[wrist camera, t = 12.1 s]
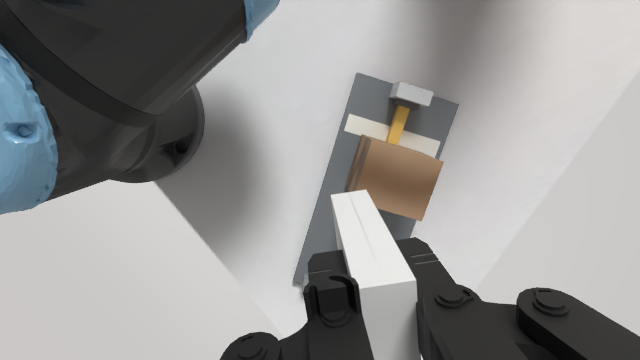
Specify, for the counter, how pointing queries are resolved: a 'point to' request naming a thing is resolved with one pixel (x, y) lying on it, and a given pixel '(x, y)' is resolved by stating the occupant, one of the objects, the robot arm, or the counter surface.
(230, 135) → the counter surface
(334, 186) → the sliding block track
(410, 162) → the cardboard box
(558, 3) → the counter surface
